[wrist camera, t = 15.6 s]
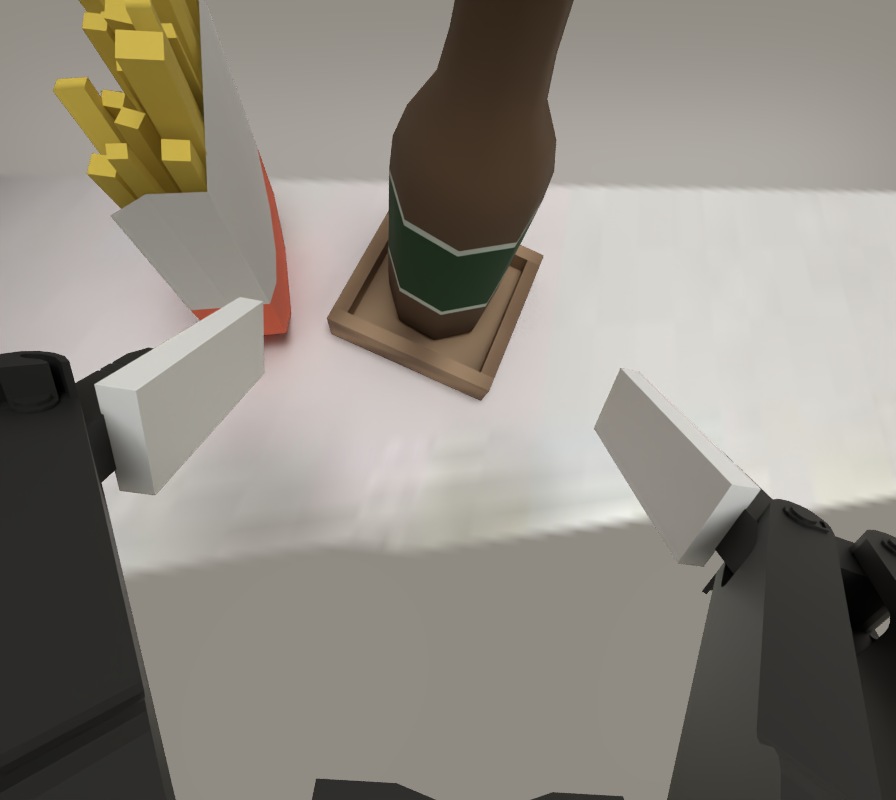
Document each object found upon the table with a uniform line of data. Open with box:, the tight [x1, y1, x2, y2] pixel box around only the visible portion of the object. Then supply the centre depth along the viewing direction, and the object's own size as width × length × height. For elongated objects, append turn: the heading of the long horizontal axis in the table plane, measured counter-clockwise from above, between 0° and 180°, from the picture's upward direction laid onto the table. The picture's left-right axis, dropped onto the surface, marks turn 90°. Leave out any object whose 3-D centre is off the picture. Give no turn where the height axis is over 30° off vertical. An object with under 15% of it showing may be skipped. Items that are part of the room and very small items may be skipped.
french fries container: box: [53, 0, 291, 335], centre depth 21 cm, size 5×11×18 cm, turn 10°
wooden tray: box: [327, 211, 543, 400], centre depth 30 cm, size 12×12×2 cm
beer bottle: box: [388, 0, 574, 340], centre depth 19 cm, size 8×8×24 cm
